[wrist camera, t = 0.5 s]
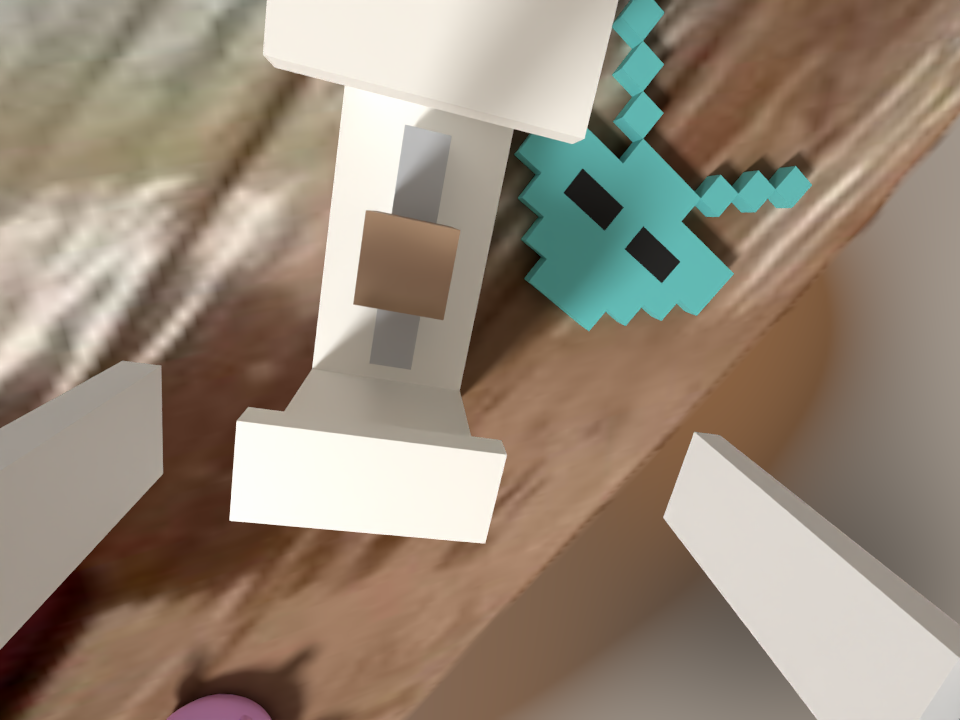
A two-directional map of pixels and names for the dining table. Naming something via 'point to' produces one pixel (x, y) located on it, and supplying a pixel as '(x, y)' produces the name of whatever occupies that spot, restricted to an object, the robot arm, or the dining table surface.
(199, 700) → the teapot
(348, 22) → the box
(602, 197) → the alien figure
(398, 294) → the walnut block
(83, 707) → the dining table surface
